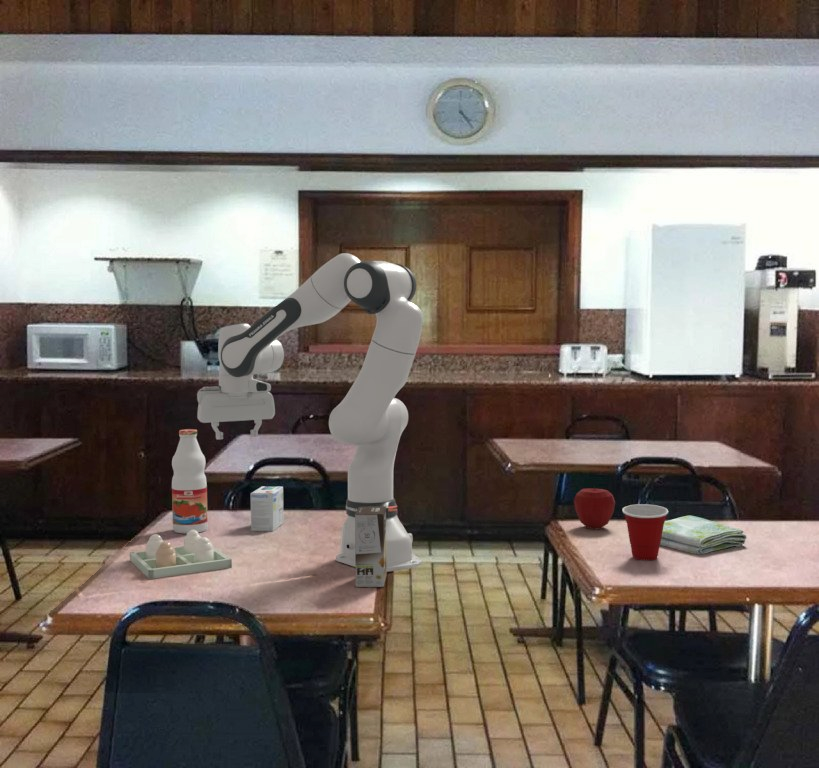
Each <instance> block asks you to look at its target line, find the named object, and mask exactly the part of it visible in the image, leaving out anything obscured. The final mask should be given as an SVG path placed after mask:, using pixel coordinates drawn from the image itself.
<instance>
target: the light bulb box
mask: <svg viewBox="0 0 819 768" xmlns="http://www.w3.org/2000/svg"><path fill="white" fill-rule="evenodd" d="M249 498H250V531H251V532H274V531H275V530H276V529H278V528H279V527H280V526H282V525H283V524H284V486H280V485H279V486H268V485H267V486H263V485H262V486H260V487H259V488H257V489H255V490H254V491H252V492H250V497H249Z"/></svg>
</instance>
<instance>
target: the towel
mask: <svg viewBox="0 0 819 768" xmlns="http://www.w3.org/2000/svg"><path fill="white" fill-rule="evenodd" d="M746 540H747V535H746V534H744V530H743V529H740V528H736V527H731V526H728V525H724V524H720V523H719V522H716V521H712V520H709V519H707V518H703V517H699V516H696V515H695V516H694V515H685V516H680V517H677V518H673V519H669V520H665V522H664V526H663V532H662V537H661V543H660V546H664V547H667V548H671V549H674V550H675V549H676V550H679V551H682V552H685V553H691V554H695V555H704V554H708V553H710V552H711V553H712V552H715V551H719V550H720V551H721V550H724V549H727V548H730V547H731V548H732V547H741V546H743V545H745V543H746Z"/></svg>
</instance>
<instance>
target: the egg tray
mask: <svg viewBox="0 0 819 768" xmlns="http://www.w3.org/2000/svg"><path fill="white" fill-rule="evenodd" d="M172 547H173V548H174V549H175V552H176V566H169V567H162V568H156V558H155V559H147V560H146V550H139V551H130V552H129V561H130V562H131V564H133V565H134V566H135V567H136V568H137V569H138V570H139V571H141V572H142V574H143V575H144V576H145V577H146V578H148V579H149V580H150V579H151V580H154V579H159V578H166V577H174V576H179V575H180V576H181V575H189V574H196V573H203V572H210V571H211V572H212V571H216V570H224V569H231V568H233V567H232V566H233V565H232V559H231V558H230V557H229V556H228V555H226V554H224V553H223V552H222V551H220V550H219V549H217V548H216V547H214V546H213V549H214V561H207V562H199V563H195V559H194V554H186V555H184V545H180V546H179V545H178V546H172Z"/></svg>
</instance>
